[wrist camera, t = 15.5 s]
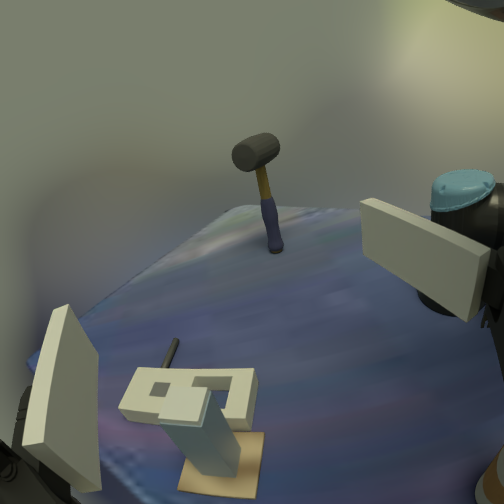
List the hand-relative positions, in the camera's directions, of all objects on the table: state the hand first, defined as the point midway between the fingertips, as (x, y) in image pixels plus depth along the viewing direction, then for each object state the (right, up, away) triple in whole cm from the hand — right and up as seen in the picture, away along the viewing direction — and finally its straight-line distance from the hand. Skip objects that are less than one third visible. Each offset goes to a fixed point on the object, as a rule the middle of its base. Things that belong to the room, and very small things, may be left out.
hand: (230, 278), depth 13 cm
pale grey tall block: (-3, -26, +22) cm, 34 cm away
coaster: (-3, -26, +22) cm, 34 cm away
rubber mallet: (+7, +1, +71) cm, 71 cm away
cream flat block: (-8, -20, +36) cm, 42 cm away
